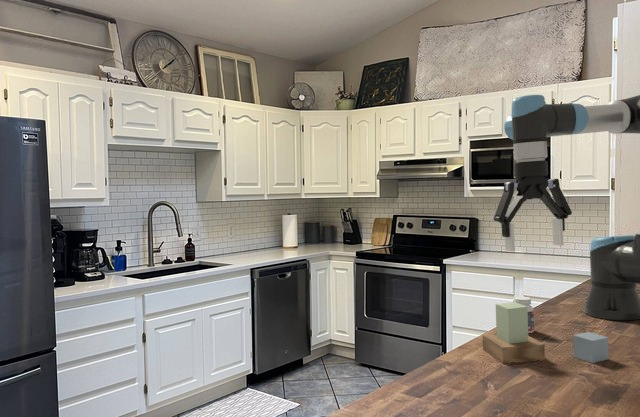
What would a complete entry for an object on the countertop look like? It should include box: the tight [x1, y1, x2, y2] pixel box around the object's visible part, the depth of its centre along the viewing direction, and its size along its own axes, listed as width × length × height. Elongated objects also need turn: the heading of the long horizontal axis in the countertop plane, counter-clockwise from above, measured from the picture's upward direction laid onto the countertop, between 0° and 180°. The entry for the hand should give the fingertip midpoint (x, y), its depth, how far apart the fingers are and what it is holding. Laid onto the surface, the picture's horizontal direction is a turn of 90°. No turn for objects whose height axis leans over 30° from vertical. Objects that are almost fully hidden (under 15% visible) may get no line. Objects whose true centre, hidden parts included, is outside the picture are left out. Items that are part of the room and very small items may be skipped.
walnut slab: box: [482, 333, 546, 364], centre depth 123 cm, size 10×10×4 cm
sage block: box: [495, 301, 529, 344], centre depth 122 cm, size 5×5×8 cm
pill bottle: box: [514, 296, 535, 334], centre depth 141 cm, size 5×5×9 cm
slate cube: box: [572, 331, 609, 364], centre depth 119 cm, size 5×5×5 cm
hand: (534, 247), depth 129 cm, fingers open, 13 cm apart
